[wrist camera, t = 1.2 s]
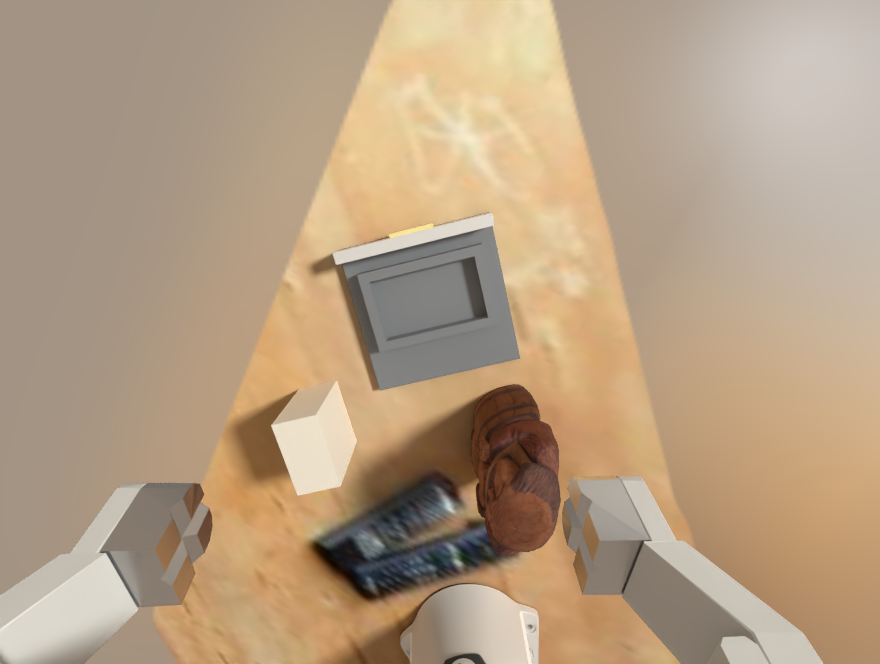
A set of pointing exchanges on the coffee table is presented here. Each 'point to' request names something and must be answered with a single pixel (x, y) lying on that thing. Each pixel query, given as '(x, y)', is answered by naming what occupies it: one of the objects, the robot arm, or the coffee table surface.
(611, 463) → the coffee table surface
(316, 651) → the coffee table surface
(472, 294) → the display base
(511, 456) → the wooden figurine
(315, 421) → the product carton
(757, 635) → the robot arm
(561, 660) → the coffee table surface
